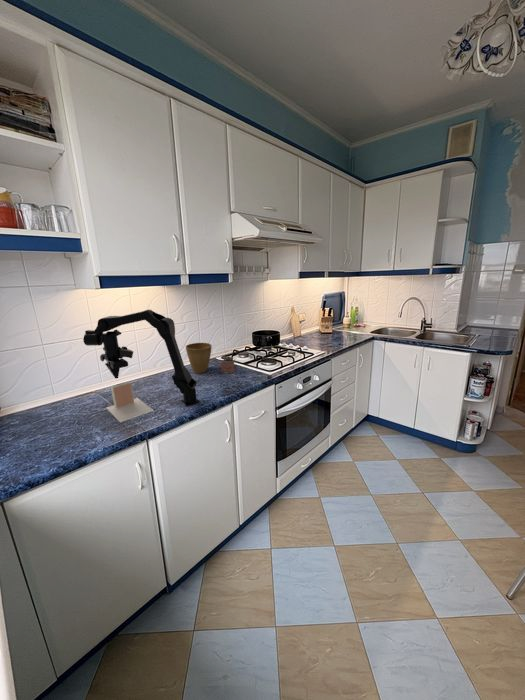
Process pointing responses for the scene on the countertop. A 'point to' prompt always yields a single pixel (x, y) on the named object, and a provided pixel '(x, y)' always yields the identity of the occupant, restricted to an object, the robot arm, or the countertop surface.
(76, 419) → the countertop surface
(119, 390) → the tile
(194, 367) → the plant pot
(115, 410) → the beige board
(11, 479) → the countertop surface
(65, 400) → the countertop surface
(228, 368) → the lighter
